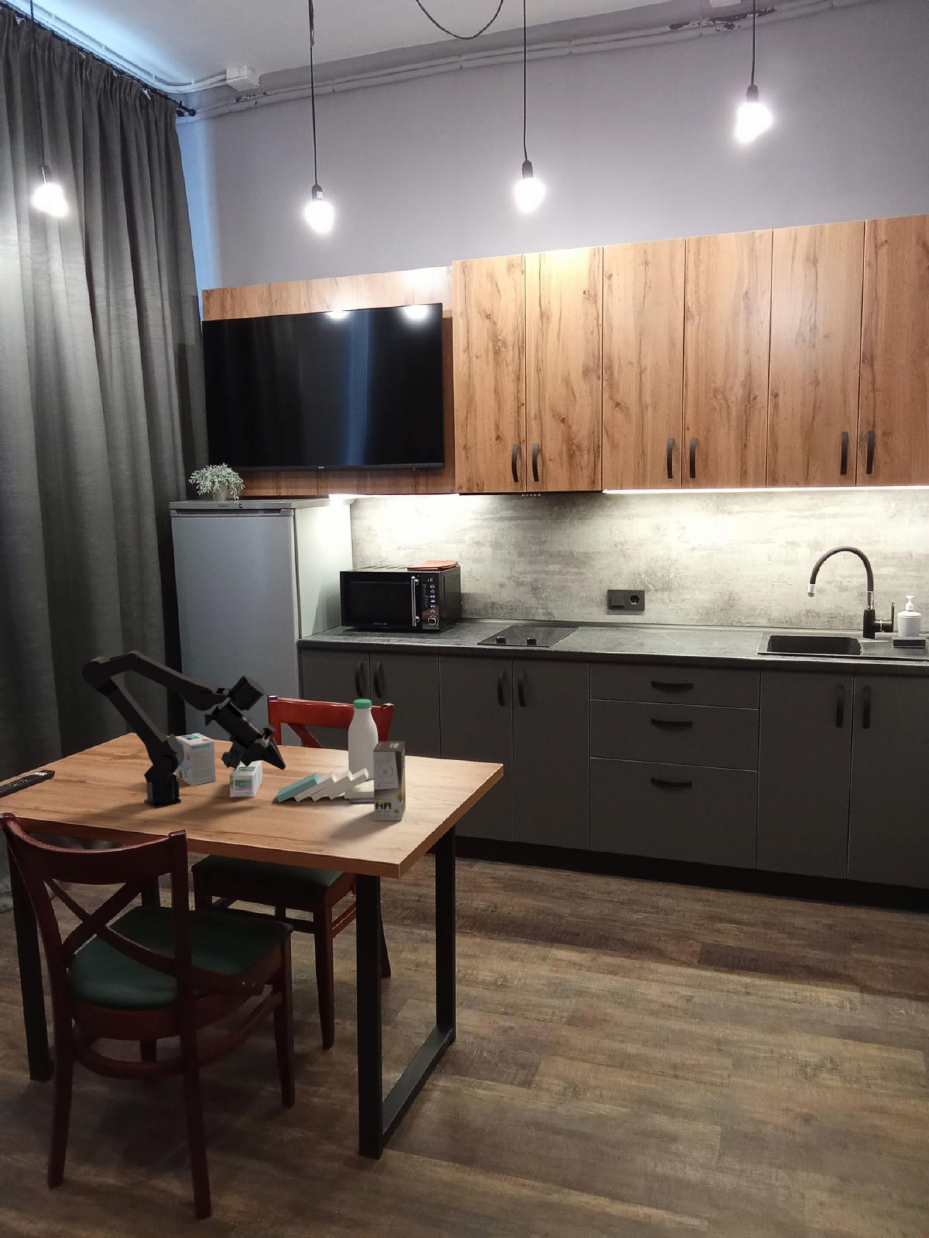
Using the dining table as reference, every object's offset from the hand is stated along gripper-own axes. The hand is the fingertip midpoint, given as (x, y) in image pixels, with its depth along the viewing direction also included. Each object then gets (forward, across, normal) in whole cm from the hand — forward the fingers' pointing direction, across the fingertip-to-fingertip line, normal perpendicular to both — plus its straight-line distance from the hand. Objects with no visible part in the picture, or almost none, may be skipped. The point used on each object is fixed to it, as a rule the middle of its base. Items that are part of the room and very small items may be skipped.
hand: (284, 768), depth 227 cm
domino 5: (+14, 0, +6) cm, 16 cm away
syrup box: (-4, -16, -11) cm, 20 cm away
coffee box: (+23, +13, +12) cm, 30 cm away
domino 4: (+12, 0, +3) cm, 13 cm away
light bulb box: (-12, -19, -23) cm, 32 cm away
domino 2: (+7, 0, -3) cm, 7 cm away
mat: (+20, 0, +9) cm, 22 cm away
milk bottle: (+18, -17, +7) cm, 26 cm away
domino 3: (+10, 0, 0) cm, 10 cm away
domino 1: (+4, 0, -6) cm, 7 cm away
